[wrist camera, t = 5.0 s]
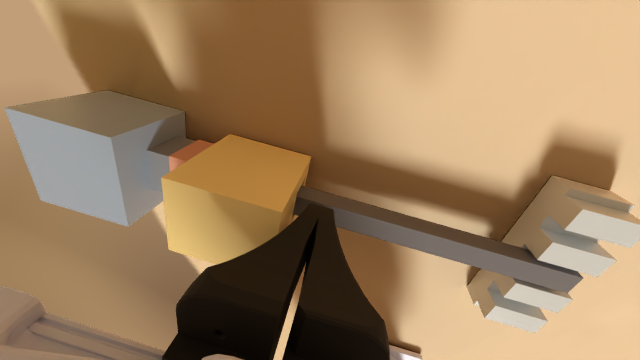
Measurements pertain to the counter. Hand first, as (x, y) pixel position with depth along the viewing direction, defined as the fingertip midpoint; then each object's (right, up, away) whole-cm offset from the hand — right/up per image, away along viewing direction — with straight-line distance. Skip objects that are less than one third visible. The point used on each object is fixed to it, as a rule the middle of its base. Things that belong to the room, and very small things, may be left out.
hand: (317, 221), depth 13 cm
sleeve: (-3, +3, +3) cm, 5 cm away
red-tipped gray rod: (+2, +1, +2) cm, 3 cm away
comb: (+13, -2, +2) cm, 13 cm away
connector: (-11, +5, +4) cm, 12 cm away
